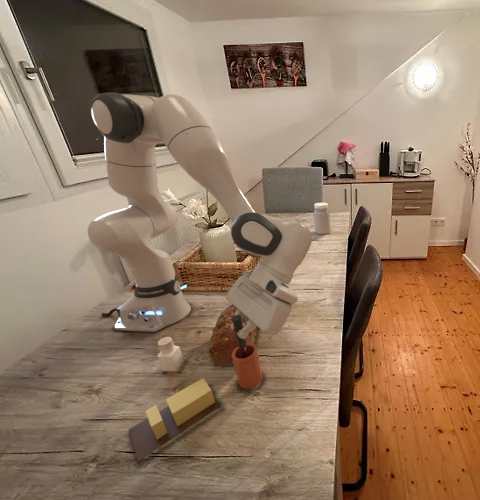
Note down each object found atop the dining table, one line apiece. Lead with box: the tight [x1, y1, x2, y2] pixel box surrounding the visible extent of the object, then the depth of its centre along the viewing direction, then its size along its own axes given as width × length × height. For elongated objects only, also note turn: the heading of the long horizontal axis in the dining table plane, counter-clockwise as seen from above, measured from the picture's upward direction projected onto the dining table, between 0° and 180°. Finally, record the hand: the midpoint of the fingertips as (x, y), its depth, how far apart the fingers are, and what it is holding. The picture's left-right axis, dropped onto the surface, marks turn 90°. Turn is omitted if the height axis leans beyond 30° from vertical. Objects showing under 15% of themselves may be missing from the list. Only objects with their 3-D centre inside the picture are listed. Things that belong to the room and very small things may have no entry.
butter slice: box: [144, 404, 168, 439], centre depth 59 cm, size 2×5×4 cm, turn 46°
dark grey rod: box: [232, 315, 247, 358], centre depth 67 cm, size 2×2×18 cm
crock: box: [232, 343, 263, 389], centre depth 70 cm, size 6×6×10 cm
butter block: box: [165, 377, 215, 426], centre depth 63 cm, size 8×5×4 cm, turn 135°
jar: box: [313, 202, 331, 235], centre depth 171 cm, size 10×10×18 cm
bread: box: [208, 303, 259, 366], centre depth 83 cm, size 19×11×10 cm, turn 9°
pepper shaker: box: [157, 336, 185, 372], centre depth 74 cm, size 4×4×10 cm
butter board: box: [128, 394, 222, 462], centre depth 62 cm, size 16×9×1 cm, turn 135°
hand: (237, 333), depth 65 cm, fingers closed on dark grey rod, 2 cm apart
